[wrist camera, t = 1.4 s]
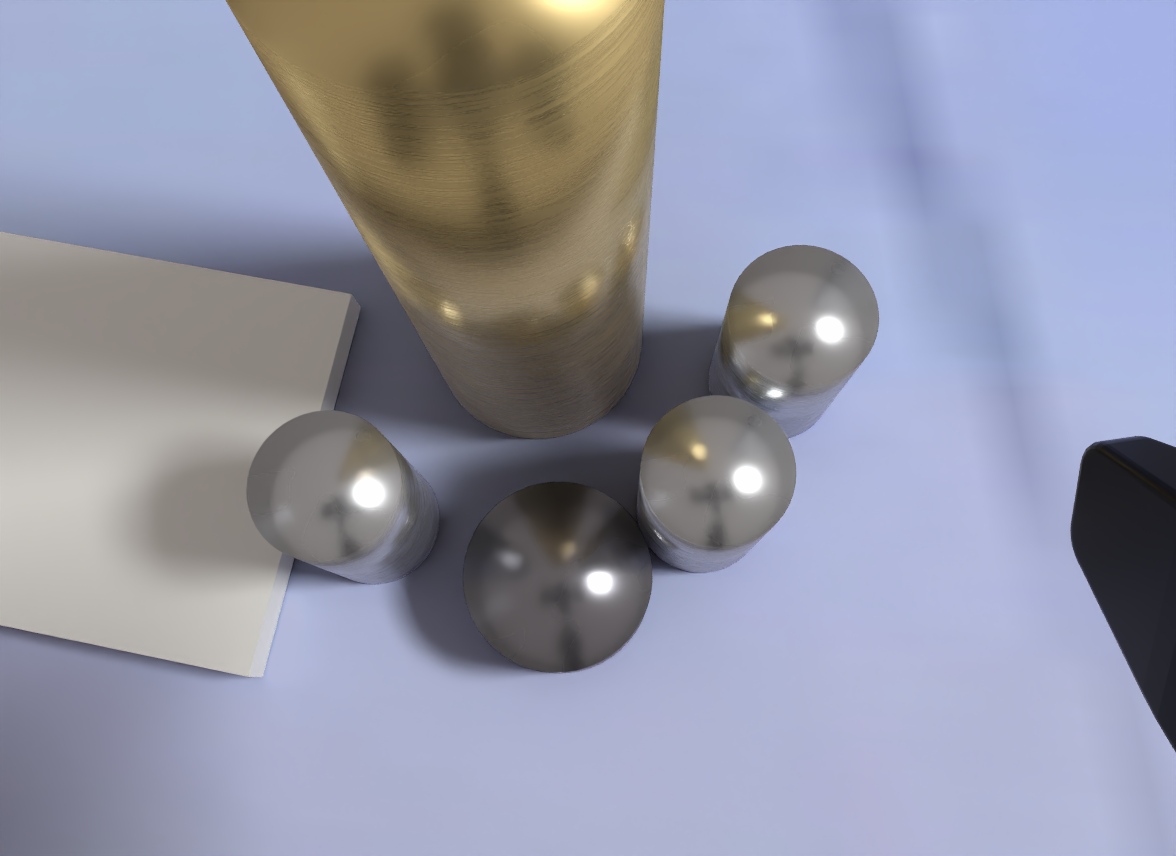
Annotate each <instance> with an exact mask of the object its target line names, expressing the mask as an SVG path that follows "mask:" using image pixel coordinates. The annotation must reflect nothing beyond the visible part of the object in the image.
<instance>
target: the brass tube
mask: <svg viewBox="0 0 1176 856" xmlns="http://www.w3.org/2000/svg"><path fill="white" fill-rule="evenodd" d="M226 2H227V3H228V5H229V7H230V9H231V10H232V12H233V14H234V16H235V17H236V19H237V21H238V22H239V24H240V26H241V28H242V29H243V31H244V33H245V35H246V36H247V38H248V40H249V42H250V43H251V45H252V47H253V48H254V50H255V52H256V54H257V55H258V57H259V59H260V61H261V62H262V64H263V66H264V67H265V69H266V71H267V73H268V74H269V76H270V78H271V80H272V81H273V83H274V85H275V87H276V88H277V90H278V92H279V93H280V95H281V97H282V99H283V100H284V102H285V104H286V106H287V107H288V109H289V111H290V113H291V114H292V116H293V118H294V119H295V121H296V123H297V125H298V126H299V128H300V130H301V132H302V133H303V135H304V137H305V138H306V140H307V142H308V144H309V145H310V147H311V149H312V151H313V152H314V154H315V156H316V158H317V159H318V161H319V163H320V164H321V166H322V168H323V170H324V171H325V173H326V175H327V177H328V178H329V180H330V182H331V184H332V185H333V187H334V189H335V190H336V192H337V194H338V196H339V197H340V199H341V201H342V203H343V204H344V206H345V208H346V210H347V211H348V213H349V215H350V216H351V218H352V220H353V222H354V223H355V225H356V227H357V229H358V230H359V232H360V234H361V235H362V237H363V239H364V241H365V242H366V244H367V246H368V248H369V249H370V251H371V253H372V255H373V256H374V258H375V260H376V261H377V263H378V265H379V267H380V268H381V270H382V272H383V274H384V275H385V277H386V279H387V281H388V282H389V284H390V286H391V287H392V289H393V291H394V293H395V294H396V296H397V298H398V300H399V301H400V303H401V305H402V306H403V308H404V310H405V312H406V313H407V315H408V317H409V319H410V320H411V322H412V324H413V326H414V327H415V329H416V331H417V332H418V334H419V336H420V338H421V339H422V341H423V343H424V345H425V346H426V348H427V350H428V352H429V353H430V355H431V357H432V358H433V360H434V362H435V364H436V365H437V367H438V369H439V371H440V372H441V374H442V376H443V378H444V379H445V381H446V383H447V384H448V386H449V388H450V390H451V391H452V393H453V395H454V396H455V397H456V399H457V400H458V401H459V403H460V404H461V405H462V406H463V407H464V408H465V409H466V410H467V411H468V412H469V413H470V414H471V415H472V416H473V417H475V418H476V419H477V420H479V421H480V422H482V423H483V424H485V425H487V426H489V427H490V428H492V429H495V430H497V431H500V432H502V433H505V434H508V435H512V436H516V437H522V438H530V439H546V438H554V437H560V436H564V435H568V434H571V433H574V432H576V431H579V430H581V429H584V428H586V427H588V426H589V425H591V424H593V423H595V422H596V421H598V420H599V419H600V418H602V417H603V416H604V415H606V414H607V413H608V412H609V411H610V410H611V409H612V408H613V407H614V406H615V405H616V404H617V403H618V402H619V401H620V399H621V398H622V397H623V396H624V394H625V393H626V391H627V389H628V388H629V386H630V384H631V383H632V380H633V378H634V376H635V373H636V371H637V367H638V364H639V360H640V355H641V346H642V333H643V318H644V302H645V287H646V272H647V257H648V242H649V227H650V212H651V197H652V182H653V166H654V151H655V136H656V121H657V106H658V91H659V76H660V61H661V46H662V30H663V15H664V0H226Z"/></svg>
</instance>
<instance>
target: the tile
mask: <svg viewBox="0 0 1176 856" xmlns="http://www.w3.org/2000/svg"><path fill="white" fill-rule="evenodd" d="M360 309H361V307H360V305H359V304H358V303H357V301H356V300H355V298H354V297H353V295H352V294H349V293H343V292H338V291H332V290H326V289H321V288H315V287H310V286H304V285H298V284H293V283H287V282H281V281H276V280H270V279H264V278H259V277H253V276H248V275H242V274H236V273H231V272H225V271H219V270H214V269H208V268H203V267H197V266H191V265H186V264H180V263H174V262H169V261H163V260H158V259H152V258H146V257H141V256H135V255H129V254H124V253H118V252H113V251H107V250H101V249H96V248H90V247H84V246H79V245H73V244H67V243H62V242H56V241H51V240H45V239H39V238H34V237H28V236H22V235H17V234H11V233H6V232H0V625H2V626H7V627H11V628H16V629H21V630H26V631H31V632H35V633H40V634H45V635H50V636H55V637H59V638H64V639H69V640H74V641H79V642H83V643H88V644H93V645H98V646H103V647H107V648H112V649H117V650H122V651H126V652H131V653H136V654H141V655H146V656H150V657H155V658H160V659H165V660H170V661H174V662H179V663H184V664H189V665H194V666H198V667H203V668H208V669H213V670H217V671H222V672H227V673H232V674H237V675H241V676H246V677H263V674H264V671H265V667H266V663H267V659H268V655H269V652H270V648H271V644H272V640H273V637H274V633H275V629H276V625H277V622H278V618H279V614H280V610H281V607H282V603H283V599H284V595H285V591H286V588H287V584H288V580H289V576H290V573H291V569H292V565H293V561H294V558H293V557H291V556H288V555H286V554H284V553H282V552H280V551H279V550H277V549H276V548H274V547H273V546H272V545H271V544H269V543H268V542H267V541H266V540H265V538H264V537H263V536H262V535H261V534H260V532H259V531H258V529H257V528H256V526H255V524H254V522H253V520H252V518H251V515H250V512H249V509H248V503H247V493H246V488H247V479H248V474H249V470H250V467H251V464H252V461H253V459H254V457H255V455H256V453H257V451H258V450H259V448H260V447H261V445H262V444H263V442H264V441H265V440H266V439H267V438H268V437H269V435H271V434H272V433H273V432H274V431H275V430H276V429H277V428H279V427H280V426H281V425H283V424H284V423H286V422H288V421H289V420H291V419H293V418H295V417H298V416H300V415H303V414H306V413H310V412H315V411H322V410H334V407H335V403H336V400H337V396H338V392H339V388H340V384H341V381H342V377H343V373H344V369H345V366H346V362H347V358H348V354H349V351H350V347H351V343H352V339H353V336H354V332H355V328H356V324H357V320H358V317H359V313H360Z"/></svg>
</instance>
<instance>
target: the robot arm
mask: <svg viewBox="0 0 1176 856" xmlns="http://www.w3.org/2000/svg"><path fill="white" fill-rule="evenodd" d="M1071 541H1072V547H1073V550H1074V553H1075V556H1076V558H1077V561H1078V563H1079V565H1080V567H1081V569H1082V571H1083V573H1084V575H1085V577H1086V579H1087V581H1088V583H1089V585H1090V587H1091V589H1092V591H1093V594H1094V596H1095V598H1096V600H1097V602H1098V604H1099V606H1100V608H1101V610H1102V612H1103V614H1104V616H1105V618H1106V620H1107V622H1108V624H1109V626H1110V628H1111V630H1112V632H1113V634H1114V637H1115V639H1116V641H1117V643H1118V645H1119V647H1120V649H1121V651H1122V653H1123V655H1124V657H1125V659H1126V661H1127V663H1128V665H1129V667H1130V669H1131V671H1132V673H1133V675H1134V677H1135V680H1136V682H1137V684H1138V686H1139V688H1140V690H1141V692H1142V694H1143V696H1144V698H1145V699H1146V701H1147V703H1148V705H1149V707H1150V709H1151V711H1152V713H1153V715H1154V716H1155V718H1156V720H1157V722H1158V724H1159V725H1160V727H1161V729H1162V730H1163V732H1164V734H1165V735H1166V737H1167V739H1168V740H1169V742H1170V744H1171V745H1172V747H1173V748H1174V750H1175V752H1176V447H1173V446H1171V445H1168V444H1165V443H1162V442H1160V441H1157V440H1154V439H1151V438H1148V437H1143V436H1134V437H1127V438H1120V439H1113V440H1106V441H1099V442H1095V443H1093V444H1092V445H1090V446H1089V447H1088V448H1087V449H1086V450H1085V452H1084V454H1083V456H1082V460H1081V464H1080V470H1079V477H1078V483H1077V489H1076V495H1075V502H1074V508H1073V514H1072V521H1071Z"/></svg>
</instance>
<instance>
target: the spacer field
mask: <svg viewBox="0 0 1176 856" xmlns="http://www.w3.org/2000/svg"><path fill="white" fill-rule="evenodd" d="M878 326H879V311H878V305H877V300H876V297H875V295H874V292H873V290H872V288H871V286H870V284H869V282H868V281H867V279H866V278H865V276H864V275H863V274H862V273H861V272H860V271H859V269H858V268H857V267H856V266H854V265H853V264H852V263H851V262H850V261H848V260H847V259H845V258H844V257H842V256H840V255H838V254H836V253H834V252H832V251H830V250H827V249H824V248H820V247H816V246H808V245H793V246H785V247H781V248H778V249H775V250H772V251H770V252H767V253H765V254H764V255H762V256H760V257H758V258H757V259H756V260H754V261H753V262H752V263H751V264H750V265H749V266H748V267H747V268H746V269H745V270H744V271H743V272H742V274H741V275H740V276H739V278H738V280H737V281H736V283H735V285H734V288H733V290H732V293H731V296H730V300H729V303H728V306H727V310H726V313H725V317H724V320H723V324H722V327H721V331H720V334H719V338H718V341H717V344H716V348H715V351H714V355H713V358H712V362H711V366H710V370H709V388H710V394H711V396H703V397H698V398H695V399H691V400H689V401H686V402H684V403H682V404H680V405H678V406H676V407H675V408H673V409H672V410H670V411H669V412H668V413H666V414H665V415H664V416H663V417H662V418H661V419H660V420H659V421H658V423H657V424H656V425H655V427H654V428H653V429H652V431H651V433H650V434H649V436H648V438H647V441H646V443H645V446H644V449H643V453H642V458H641V467H640V477H639V487H638V497H637V519H638V524H639V527H638V525H637V524H636V522H635V521H634V519H633V518H632V517H631V516H630V514H629V513H628V512H627V511H626V510H625V509H624V508H623V507H622V506H621V505H620V504H619V503H617V502H616V501H615V500H613V499H612V498H611V497H609V496H607V495H606V494H604V493H602V492H600V491H598V490H596V489H593V488H591V487H588V486H585V485H581V484H577V483H570V482H548V483H540V484H536V485H533V486H529V487H526V488H524V489H521V490H519V491H517V492H515V493H513V494H511V495H510V496H508V497H506V498H505V499H504V500H502V501H501V502H500V503H498V504H497V505H496V506H495V507H494V508H493V509H492V510H491V511H490V512H489V513H488V514H487V515H486V516H485V517H484V519H483V520H482V521H481V523H480V524H479V526H478V527H477V529H476V531H475V532H474V534H473V536H472V539H471V541H470V543H469V546H468V549H467V552H466V556H465V561H464V568H463V587H464V595H465V600H466V604H467V607H468V610H469V613H470V615H471V618H472V620H473V622H474V623H475V625H476V627H477V629H478V630H479V632H480V633H481V634H482V636H483V637H484V638H485V640H486V641H487V642H488V643H489V644H490V645H491V646H492V647H493V648H494V649H495V650H497V651H498V652H499V653H500V654H502V655H503V656H504V657H506V658H508V659H509V660H511V661H513V662H515V663H517V664H519V665H522V666H524V667H527V668H530V669H534V670H537V671H544V672H551V673H570V672H578V671H582V670H585V669H589V668H592V667H594V666H596V665H599V664H601V663H603V662H604V661H606V660H608V659H609V658H611V657H612V656H614V655H615V654H616V653H617V652H619V651H620V650H621V649H622V648H623V647H624V646H625V645H626V644H627V643H628V642H629V641H630V639H631V638H632V636H633V635H634V634H635V632H636V631H637V629H638V627H639V625H640V624H641V622H642V619H643V617H644V614H645V612H646V609H647V606H648V603H649V599H650V595H651V588H652V564H651V558H650V553H649V550H648V546H649V547H650V548H651V549H652V551H653V552H654V553H655V554H656V555H657V556H658V557H659V558H661V559H662V560H663V561H665V562H666V563H668V564H670V565H672V566H673V567H676V568H678V569H681V570H685V571H689V572H696V573H707V572H714V571H718V570H721V569H724V568H726V567H729V566H731V565H732V564H734V563H736V562H737V561H739V560H740V559H741V558H742V557H744V556H745V555H746V553H747V552H748V551H749V550H750V549H751V548H752V547H753V546H754V545H755V544H756V543H757V542H758V541H759V540H760V539H761V538H762V537H763V536H764V535H765V534H766V533H767V532H768V531H769V530H770V529H771V528H772V527H773V526H774V525H775V524H776V523H777V522H778V521H779V520H780V518H781V517H782V516H783V514H784V513H785V511H786V509H787V508H788V506H789V504H790V501H791V499H792V496H793V493H794V488H795V483H796V463H795V458H794V453H793V450H792V447H791V445H790V442H789V440H788V438H791V437H794V436H796V435H799V434H801V433H803V432H804V431H806V430H808V429H809V428H810V427H811V426H813V425H814V424H815V423H816V422H817V421H818V420H819V419H820V417H821V416H822V415H823V413H824V412H825V411H826V409H827V408H828V407H829V405H830V404H831V403H832V401H833V400H834V399H835V397H836V396H837V395H838V394H839V392H840V391H841V390H842V388H843V387H844V386H845V384H846V383H847V382H848V380H849V379H850V378H851V376H852V375H853V374H854V372H855V371H856V370H857V369H858V367H859V366H860V365H861V363H862V362H863V361H864V359H865V358H866V357H867V355H868V354H869V352H870V350H871V348H872V347H873V345H874V342H875V339H876V336H877V332H878ZM246 493H247V503H248V509H249V512H250V515H251V518H252V520H253V522H254V524H255V526H256V528H257V529H258V531H259V532H260V534H261V535H262V536H263V537H264V538H265V540H266V541H267V542H268V543H269V544H271V545H272V546H273V547H274V548H276V549H277V550H279V551H280V552H282V553H284V554H286V555H288V556H291V557H293V558H296V559H298V560H301V561H304V562H306V563H309V564H311V565H314V566H317V567H319V568H322V569H324V570H327V571H330V572H332V573H335V574H337V575H340V576H343V577H345V578H348V579H350V580H353V581H356V582H360V583H366V584H382V583H388V582H392V581H395V580H398V579H400V578H402V577H404V576H406V575H408V574H409V573H411V572H412V571H413V570H415V569H416V568H417V567H418V566H419V565H420V564H421V563H422V562H423V561H424V560H425V559H426V557H427V556H428V555H429V553H430V551H431V550H432V548H433V546H434V544H435V541H436V538H437V535H438V531H439V525H440V514H439V506H438V502H437V499H436V496H435V494H434V492H433V490H432V488H431V486H430V485H429V484H428V482H427V481H426V480H425V479H424V478H423V477H422V476H421V474H420V473H419V472H418V471H417V470H416V469H415V468H414V467H413V466H412V465H411V464H410V463H409V462H408V461H407V460H406V459H405V458H404V457H403V456H402V455H401V453H400V452H399V451H398V450H397V449H396V448H395V447H394V446H393V445H392V444H391V443H390V442H389V441H388V440H387V439H386V438H385V437H384V436H383V435H382V434H381V433H380V432H379V431H378V430H377V428H375V427H374V426H373V425H371V424H370V423H369V422H367V421H366V420H364V419H362V418H360V417H358V416H355V415H353V414H350V413H346V412H342V411H334V410H322V411H315V412H310V413H306V414H303V415H300V416H298V417H295V418H293V419H291V420H289V421H288V422H286V423H284V424H283V425H281V426H280V427H279V428H277V429H276V430H275V431H274V432H273V433H272V434H271V435H269V437H268V438H267V439H266V440H265V441H264V442H263V444H262V445H261V447H260V448H259V450H258V451H257V453H256V455H255V457H254V459H253V461H252V464H251V467H250V470H249V474H248V479H247V488H246ZM639 528H640V529H639ZM647 544H648V546H647Z"/></svg>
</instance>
